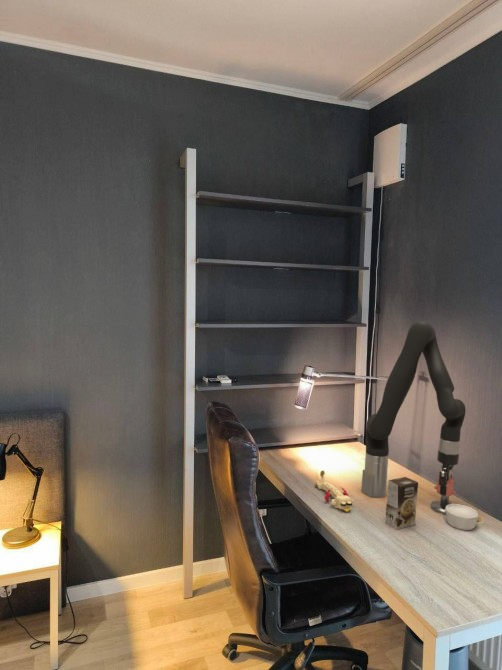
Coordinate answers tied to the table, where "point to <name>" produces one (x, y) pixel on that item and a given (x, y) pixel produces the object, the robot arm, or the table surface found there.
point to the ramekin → (461, 516)
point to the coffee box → (401, 502)
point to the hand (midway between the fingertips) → (444, 492)
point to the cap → (449, 487)
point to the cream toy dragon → (335, 494)
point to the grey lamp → (441, 504)
